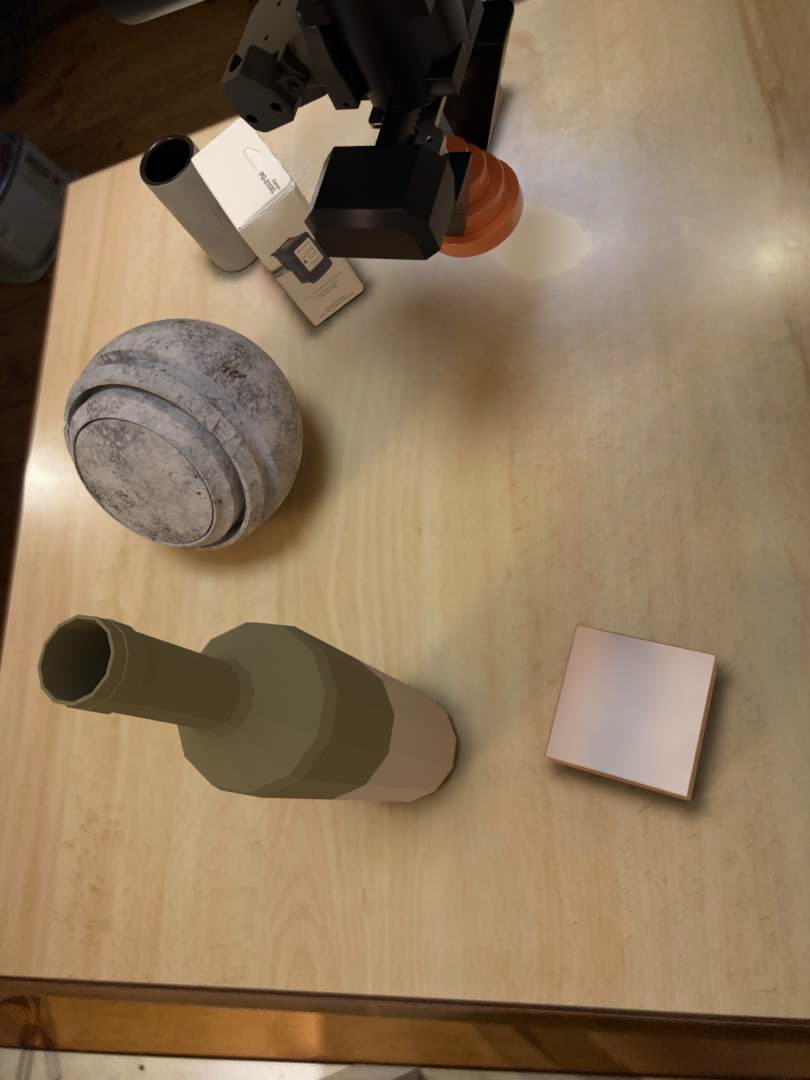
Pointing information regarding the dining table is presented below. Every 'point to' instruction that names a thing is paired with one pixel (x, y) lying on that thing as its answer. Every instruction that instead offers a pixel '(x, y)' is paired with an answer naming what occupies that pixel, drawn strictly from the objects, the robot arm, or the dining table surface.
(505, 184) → the cone
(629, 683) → the stand
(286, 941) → the dining table surface
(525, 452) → the dining table surface
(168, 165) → the planter
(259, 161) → the ink box
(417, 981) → the dining table surface
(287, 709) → the bottle
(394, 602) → the dining table surface
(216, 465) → the decorative orb
